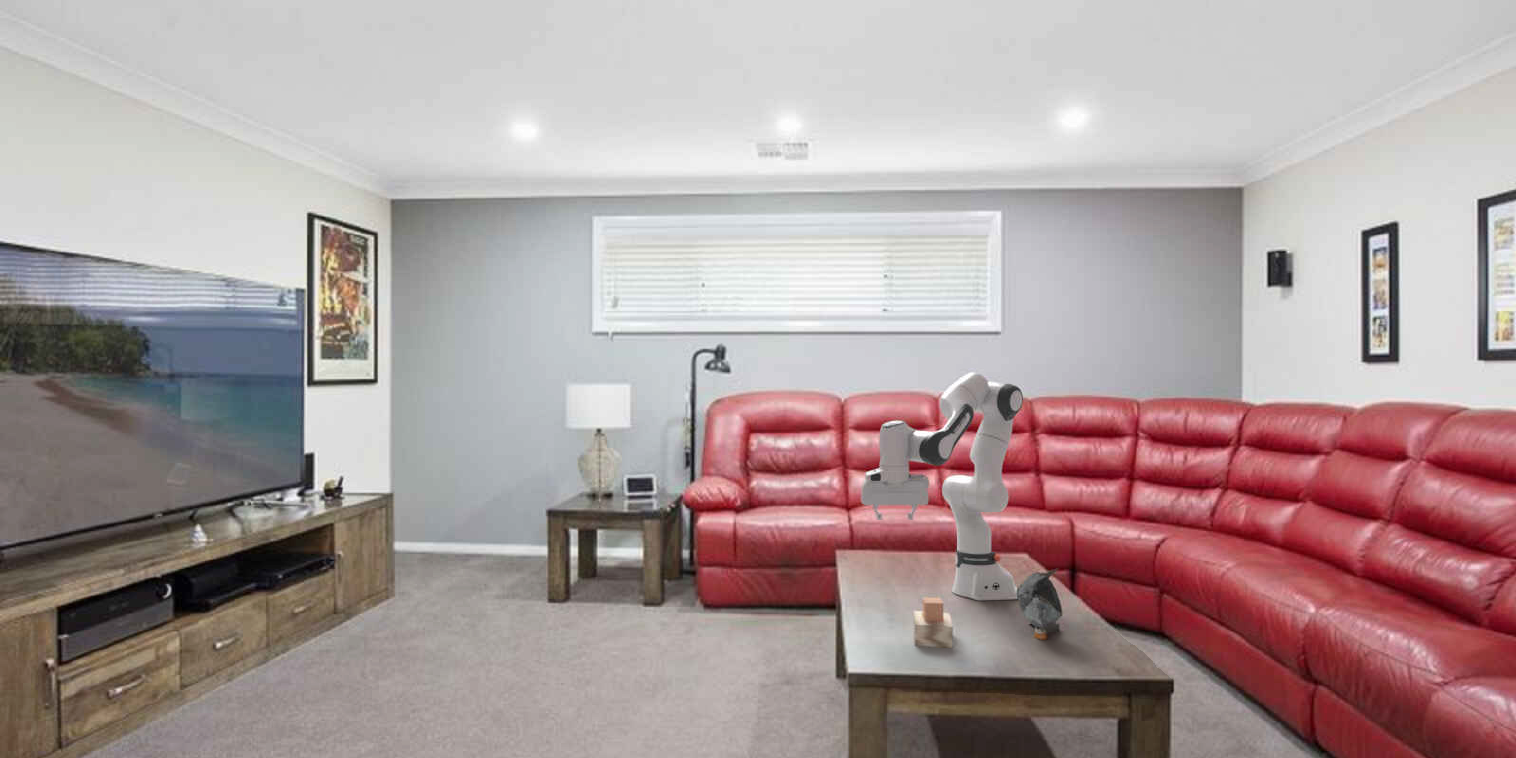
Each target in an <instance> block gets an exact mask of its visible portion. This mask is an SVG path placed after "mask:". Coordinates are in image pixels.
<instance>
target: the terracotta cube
mask: <svg viewBox="0 0 1516 758" xmlns="http://www.w3.org/2000/svg"><path fill="white" fill-rule="evenodd" d="M921 599H922V600H921V601H922V602H921V603H922V608H921V609H922V610H921V611H922V615H923V618H924V620H925V621H943V613H944V602H943V600H942V598H941V597H922V598H921Z"/></svg>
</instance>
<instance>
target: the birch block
mask: <svg viewBox="0 0 1516 758" xmlns="http://www.w3.org/2000/svg"><path fill="white" fill-rule="evenodd" d="M953 626H954V625H953V622H952V617H951V613H950V612H943V621H925V620H924V618H923V615H922V610H913V637H914V646H917V647H919V646H920V647H923V646H924V647H931V648H932V647H933V648H950V649H951V648H954V647H953V645H954V644H953V643H954V642H953V640H954V639H953V637H954V636H953V634H954V630H953V629H954V627H953Z"/></svg>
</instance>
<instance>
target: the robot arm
mask: <svg viewBox="0 0 1516 758" xmlns="http://www.w3.org/2000/svg"><path fill="white" fill-rule="evenodd" d="M1023 402H1024V395H1023V392H1022V390H1021V388H1020V387H1018V386H1017V385H1014V384H1011V383H1003V382H1000V381H998V382H997V381H988V380H987V378H986V377H985V376H984V375H983V374H980V373H978V372H969V373H967V374H965V375H963V376H962V377H960V378H959V379H957V380H956V381H954V382H953V383H952V384H951V385H950V386H949V387H948V388H947V389H946V390H945V391H944V392H943V393H942V394H941V396H940V397H939V409H940V412H941V413H942V415H943V417H945V418H946V420H948V421H947V423H946V424H945V425H944V426H943V428H941V429H940V430H936V431H925V430H916V429H914V428H912V427H911V426H909V425H908V424H907V422H906V421H904V420H890V421H889V420H888V421H887V422H885V423H882V425H881V427H880V431H879V441H878V447H879V448H878V449H879V454H880V459H879V460H880V461H879V467H878V468H875V469H872V470H870V471H869V470H868V471H866V472H865V474H864V479H865V480H864V481H863V483H862V486H861V495H860V502H861V504H862V505H863V506H872V509H873V511H874V512H875V513H876V520H878V521H882V520H883V519H882V518H883V517H882V516H883V515H882V512H879V511H878V508H879V506H910V508H911V511H910V512H907V520H908V521H913V520H914V514H915V512H916V511H917V509H918V508H917V507H918V506H926V505H928V503H929V501H930V500H929V493H928V488H929V487H930V479H929V477H928V476H927V475H925V474H922V473H921V474H920V473H919V474H918V473H917V474H915V473H913V474H912V473H910V463H909V461H911V462H915V463H916V462H917V463H924V464H929V465H931V466H937V467H939V466H942V465H944V464H945V463H947V461H949V459H950V457H951V456H952V453H953V451H954V449H955V447H956V445H958V442H959V441H960V440H961V438H962V437H963V435H964V434H965V433H966V431H967V430H968V428H969V427H970V426H971V424H972V422H973V419H974V418H975V414H974V413H975V412H977V413H979V414H982V416H983V418H982V420H981V422H980V424H979V427H978V429H977V432H976V434H975V437H974V440H973V444H972V446H971V449H970V453H969V458H970V461H971V462H972V463H973V465H974V473H973V476H971V475H966V474H955V475H951V476H948V477H947V478H945V479H944V481H943V483H942V487H941V493H942V497H943V498H944V500H945V501H946V502H947V503H948V505H949V507H950V509H951V511H952V514H953V518H954V521H955V526H956V540H957V541H956V547H957V548H956V549H955V558H954V559H955V567H956V571H955V576H954V582H953V586H952V588H951V591H952V593H954V594H956V595H958V596H961V597H963V598H969V599H972V600H975V601H1003V600H1006V601H1007V600H1018V598H1017V595H1016V594H1017V588H1018V587H1017V586H1016V583H1015V580H1014V577H1013V575H1012V574H1011V573H1010V572H1009V571H1008V569H1007V570H1006V569H1005V568H1004V567H1003V566H1002V565H1000V564H999V563H998V562H1000V561H1001V560H1002V557H1001V556H1000V554H997V552H996V553H995V551H992V530H991V527H990V524H988V523H987V522H986V520H985V518H984V517H983V514H982V513H987V514H989V513H990V514H991V513H993V514H994V513H1000V512H1003V511H1004V509H1006V507H1007V506H1008V503H1009V498H1010V497H1009V492H1008V488H1007V487H1006V485H1005V484H1004V481H1003V475H1002V473H1003V463H1004V460H1005V457H1006V453H1007V450H1008V448H1009V444H1010V441H1011V437H1012V433H1013V426H1014V424H1013V423H1014V419H1013V418H1015V416H1016V415H1017V414H1018V413H1019V412H1020V411H1021V409H1022V407H1023Z"/></svg>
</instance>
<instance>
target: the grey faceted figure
mask: <svg viewBox="0 0 1516 758" xmlns="http://www.w3.org/2000/svg"><path fill="white" fill-rule="evenodd" d="M1057 570H1059V567H1058V568H1057V567H1056V568H1055V569H1052V570H1050V571H1047V572H1038V571H1036V572H1034V573H1031V574H1030V575H1029V576H1027V577H1026V578H1025V579H1024V580H1023V582H1022V583H1021V584H1020V585H1019V586H1018V587H1016V588H1017V594H1016V595H1017V598H1018V599H1017V601H1018V604H1019V607H1020V609H1021V611H1020V612H1021V613H1022V615H1023V616H1024V618H1026V619H1027V620H1028V621H1029V622H1030V623H1029V624H1028V625H1029V626H1032V627H1034V638H1035V639H1037V640H1047V639H1048V635H1050V634H1053V633H1054V632H1057V631H1059V630H1060V623H1056V622H1058V620H1059V619H1060V618H1061V617H1063V608H1062V604H1061V600H1060V598H1059V594H1058V593H1057V589H1056V587H1055V586H1054V584H1053V582H1052V581H1051V580H1050V578H1051V576H1053V575H1054V574H1055V572H1057Z"/></svg>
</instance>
